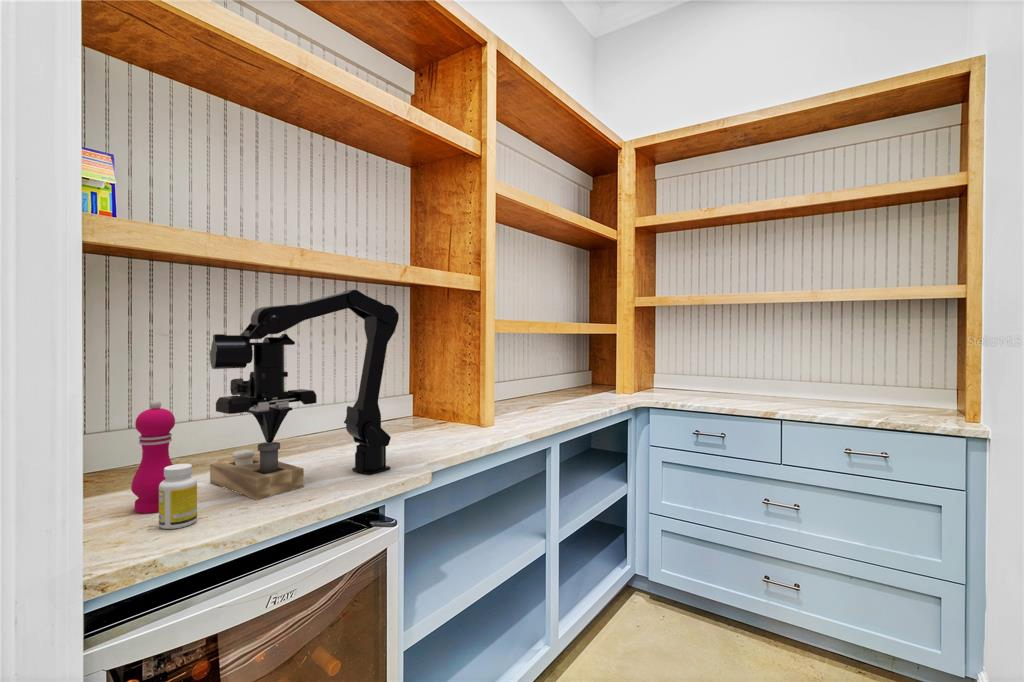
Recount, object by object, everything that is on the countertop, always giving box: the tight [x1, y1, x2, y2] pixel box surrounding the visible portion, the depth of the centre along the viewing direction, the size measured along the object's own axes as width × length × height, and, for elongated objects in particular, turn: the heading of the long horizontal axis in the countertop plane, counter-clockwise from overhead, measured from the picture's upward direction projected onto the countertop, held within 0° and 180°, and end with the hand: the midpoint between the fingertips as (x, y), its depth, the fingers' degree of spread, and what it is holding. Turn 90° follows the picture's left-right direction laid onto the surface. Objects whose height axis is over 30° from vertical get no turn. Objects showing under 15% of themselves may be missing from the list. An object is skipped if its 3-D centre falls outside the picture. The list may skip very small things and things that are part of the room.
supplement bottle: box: [158, 463, 198, 530], centre depth 85 cm, size 5×5×10 cm
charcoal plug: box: [257, 441, 281, 474], centre depth 103 cm, size 4×4×6 cm
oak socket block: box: [209, 454, 305, 501], centre depth 106 cm, size 10×19×4 cm, turn 55°
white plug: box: [232, 448, 256, 467], centre depth 109 cm, size 4×4×6 cm
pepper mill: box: [130, 399, 176, 514], centre depth 92 cm, size 7×7×20 cm
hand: (269, 442), depth 103 cm, fingers closed
